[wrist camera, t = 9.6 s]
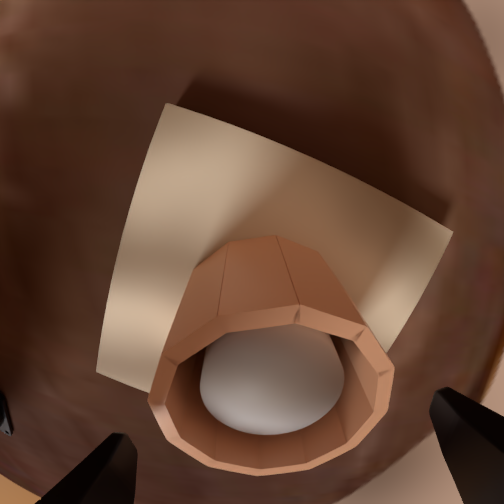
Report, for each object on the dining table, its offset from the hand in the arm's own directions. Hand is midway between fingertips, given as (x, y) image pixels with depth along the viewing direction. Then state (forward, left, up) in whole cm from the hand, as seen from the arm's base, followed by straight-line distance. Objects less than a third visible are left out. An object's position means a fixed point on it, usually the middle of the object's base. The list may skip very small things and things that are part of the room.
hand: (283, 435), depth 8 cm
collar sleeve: (0, 0, -7) cm, 7 cm away
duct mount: (0, 0, -8) cm, 8 cm away
